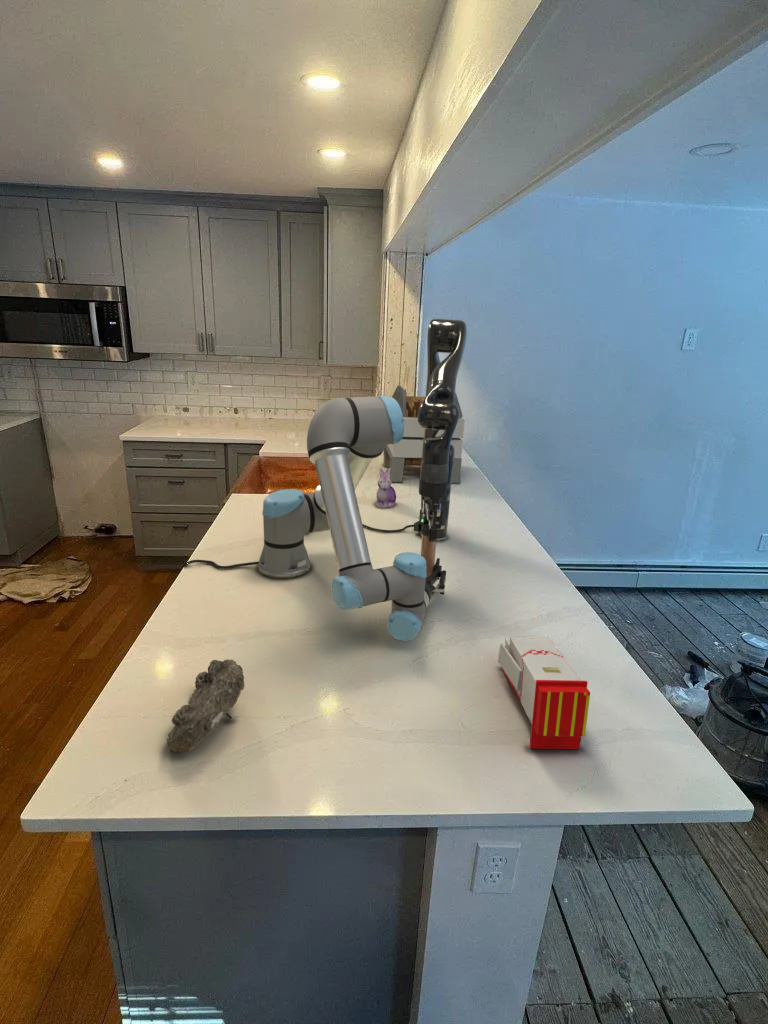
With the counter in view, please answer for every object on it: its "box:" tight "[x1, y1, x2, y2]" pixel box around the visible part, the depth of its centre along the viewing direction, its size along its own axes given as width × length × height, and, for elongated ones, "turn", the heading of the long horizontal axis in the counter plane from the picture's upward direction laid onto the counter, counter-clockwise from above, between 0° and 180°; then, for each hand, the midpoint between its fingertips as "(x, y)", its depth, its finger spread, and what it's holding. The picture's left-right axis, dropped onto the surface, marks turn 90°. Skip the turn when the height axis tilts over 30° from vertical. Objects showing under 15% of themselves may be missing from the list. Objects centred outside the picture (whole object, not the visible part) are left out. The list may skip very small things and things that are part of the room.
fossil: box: [166, 658, 245, 754], centre depth 106 cm, size 22×10×15 cm
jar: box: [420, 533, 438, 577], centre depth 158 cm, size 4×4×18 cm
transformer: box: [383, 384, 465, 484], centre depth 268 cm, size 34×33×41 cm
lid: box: [421, 524, 439, 535], centre depth 155 cm, size 5×5×2 cm
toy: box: [497, 636, 591, 750], centre depth 115 cm, size 12×13×30 cm
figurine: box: [375, 467, 397, 509], centre depth 226 cm, size 9×10×15 cm
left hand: (430, 561), depth 164 cm, fingers closed on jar, 4 cm apart
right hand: (429, 536), depth 156 cm, fingers open, 5 cm apart
